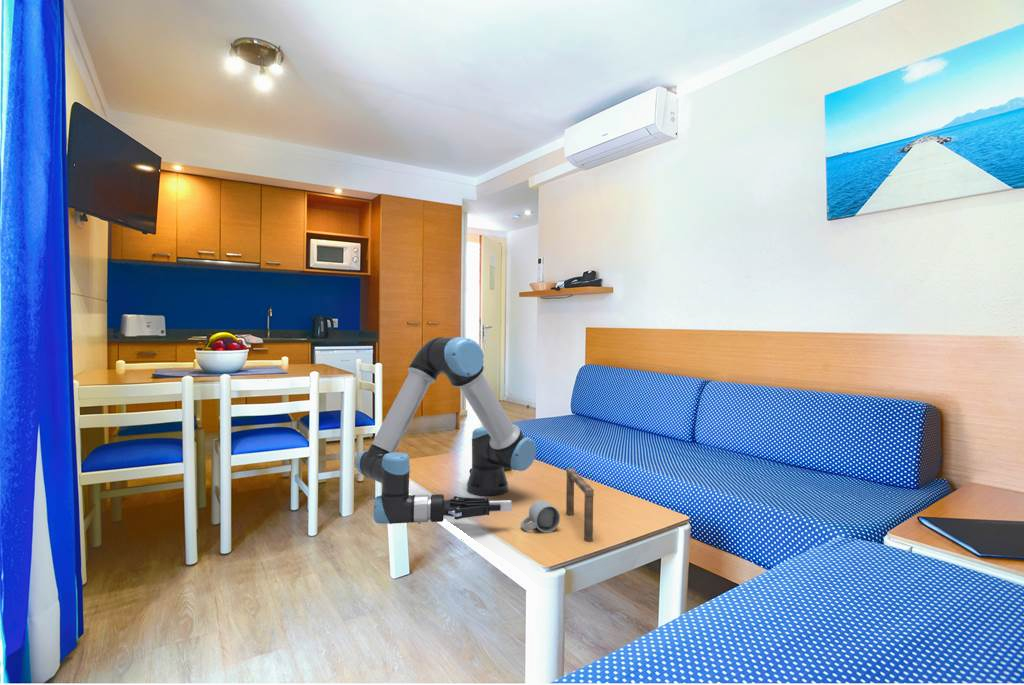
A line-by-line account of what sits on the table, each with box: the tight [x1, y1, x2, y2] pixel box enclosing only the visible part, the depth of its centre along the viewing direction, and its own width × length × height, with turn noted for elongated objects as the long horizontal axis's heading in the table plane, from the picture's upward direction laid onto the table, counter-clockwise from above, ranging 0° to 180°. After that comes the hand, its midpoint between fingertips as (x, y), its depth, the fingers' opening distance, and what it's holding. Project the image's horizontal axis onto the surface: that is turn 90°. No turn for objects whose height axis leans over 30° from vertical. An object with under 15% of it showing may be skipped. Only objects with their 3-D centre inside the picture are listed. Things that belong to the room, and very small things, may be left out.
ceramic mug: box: [520, 500, 561, 533], centre depth 145 cm, size 11×8×8 cm
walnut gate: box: [565, 467, 595, 543], centre depth 146 cm, size 22×2×14 cm, turn 8°
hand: (511, 505), depth 143 cm, fingers closed
